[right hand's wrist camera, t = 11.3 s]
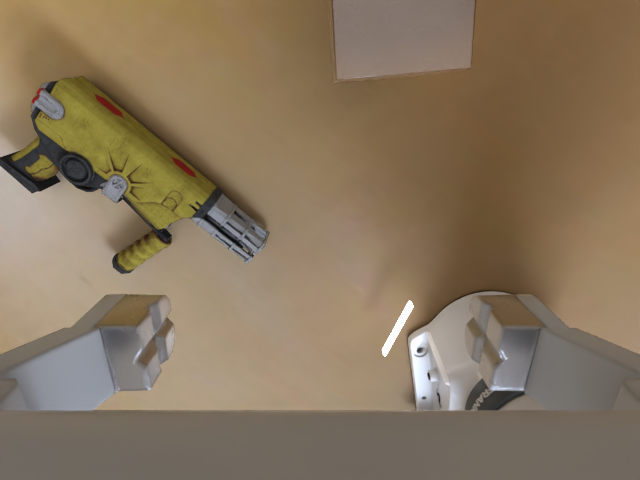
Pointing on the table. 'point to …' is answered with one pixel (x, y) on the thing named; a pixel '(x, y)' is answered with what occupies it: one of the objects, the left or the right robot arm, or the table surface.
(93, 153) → the toy gun
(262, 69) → the table surface
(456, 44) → the box
